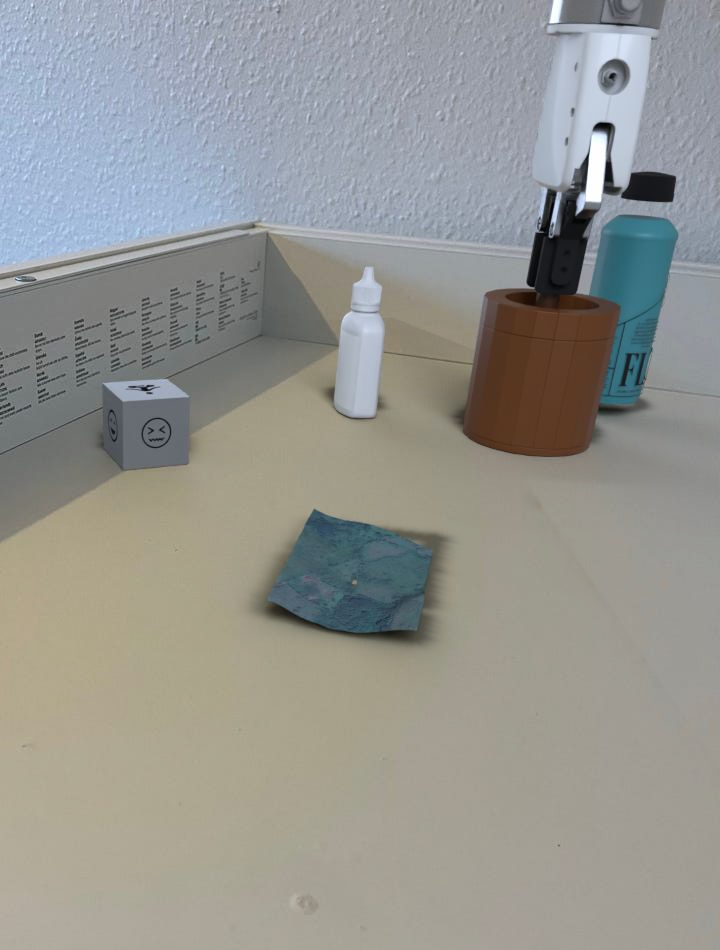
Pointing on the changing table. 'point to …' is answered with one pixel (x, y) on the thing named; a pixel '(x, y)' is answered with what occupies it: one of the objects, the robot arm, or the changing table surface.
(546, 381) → the brown wooden cup
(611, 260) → the beverage bottle
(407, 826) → the changing table surface
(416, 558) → the terrain model
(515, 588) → the changing table surface
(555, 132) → the robot arm
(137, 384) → the dice cube
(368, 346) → the eye dropper bottle
